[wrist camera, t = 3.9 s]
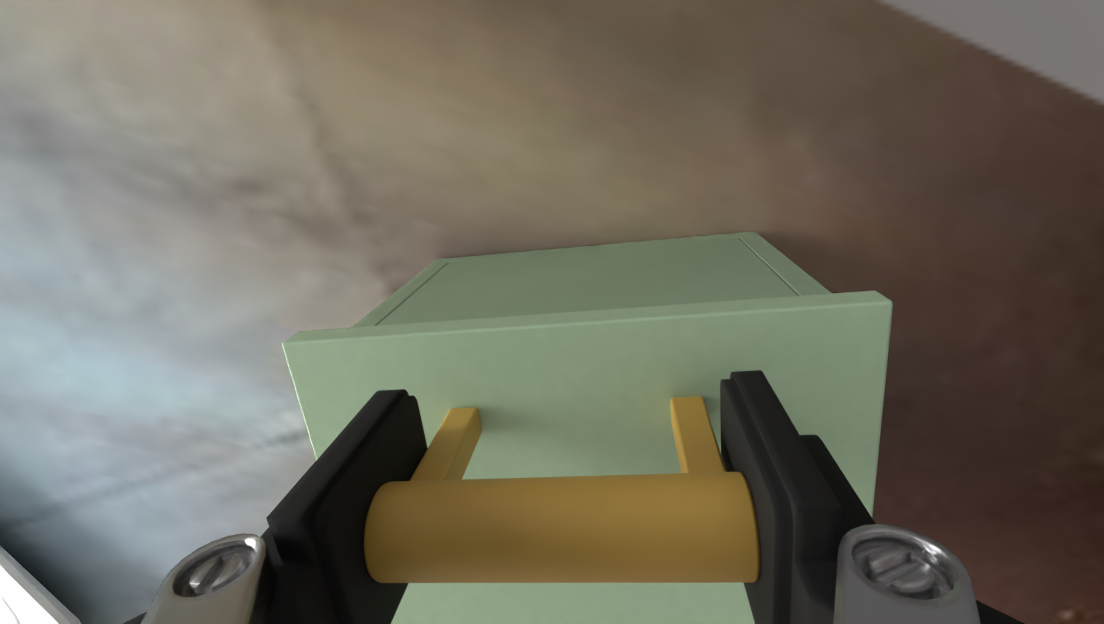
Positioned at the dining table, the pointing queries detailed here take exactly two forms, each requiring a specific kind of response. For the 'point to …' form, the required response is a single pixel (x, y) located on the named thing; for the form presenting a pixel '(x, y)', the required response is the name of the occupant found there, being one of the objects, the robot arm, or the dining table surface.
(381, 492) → the lid
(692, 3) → the dining table surface
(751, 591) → the robot arm
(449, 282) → the chest
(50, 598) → the plate
